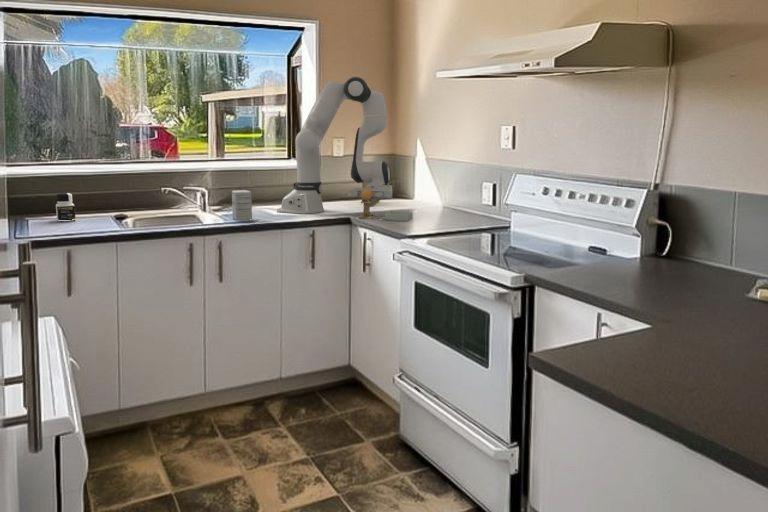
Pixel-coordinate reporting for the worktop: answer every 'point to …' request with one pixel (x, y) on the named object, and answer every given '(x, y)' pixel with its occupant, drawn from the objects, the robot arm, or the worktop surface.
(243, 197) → the supplement box
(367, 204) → the tee
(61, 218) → the medicine bottle
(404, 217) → the tray
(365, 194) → the ball
